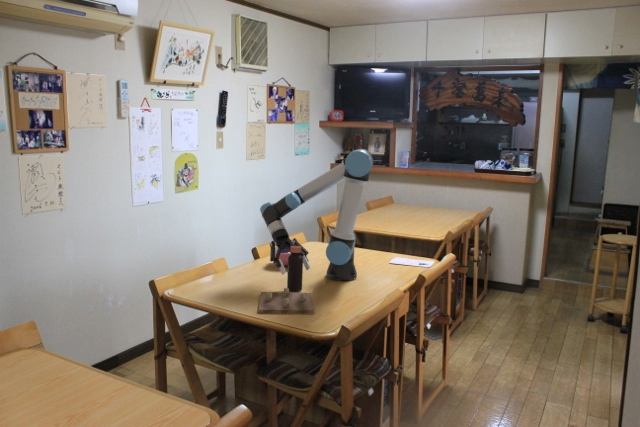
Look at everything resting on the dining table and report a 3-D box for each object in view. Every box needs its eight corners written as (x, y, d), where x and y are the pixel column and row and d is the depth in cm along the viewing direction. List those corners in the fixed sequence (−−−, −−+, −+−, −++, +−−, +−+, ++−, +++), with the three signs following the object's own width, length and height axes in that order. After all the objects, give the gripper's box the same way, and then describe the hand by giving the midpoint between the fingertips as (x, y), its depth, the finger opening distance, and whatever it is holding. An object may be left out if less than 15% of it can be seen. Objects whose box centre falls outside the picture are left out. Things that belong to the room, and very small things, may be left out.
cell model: (312, 263, 292) (312, 243, 290) (290, 271, 275) (291, 249, 273) (286, 258, 301) (287, 238, 299) (264, 265, 284) (265, 244, 282)
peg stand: (310, 296, 237) (311, 286, 236) (313, 313, 215) (314, 302, 214) (260, 295, 235) (260, 285, 234) (258, 313, 213) (258, 302, 212)
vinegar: (296, 292, 240) (297, 249, 237) (284, 289, 244) (285, 247, 240) (304, 289, 246) (306, 246, 243) (292, 286, 249) (293, 244, 246)
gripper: (296, 234, 261) (314, 271, 252) (252, 239, 246) (270, 279, 237) (303, 225, 256) (321, 262, 247) (259, 230, 241) (277, 270, 232)
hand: (296, 271), depth 242 cm, fingers open, 13 cm apart
